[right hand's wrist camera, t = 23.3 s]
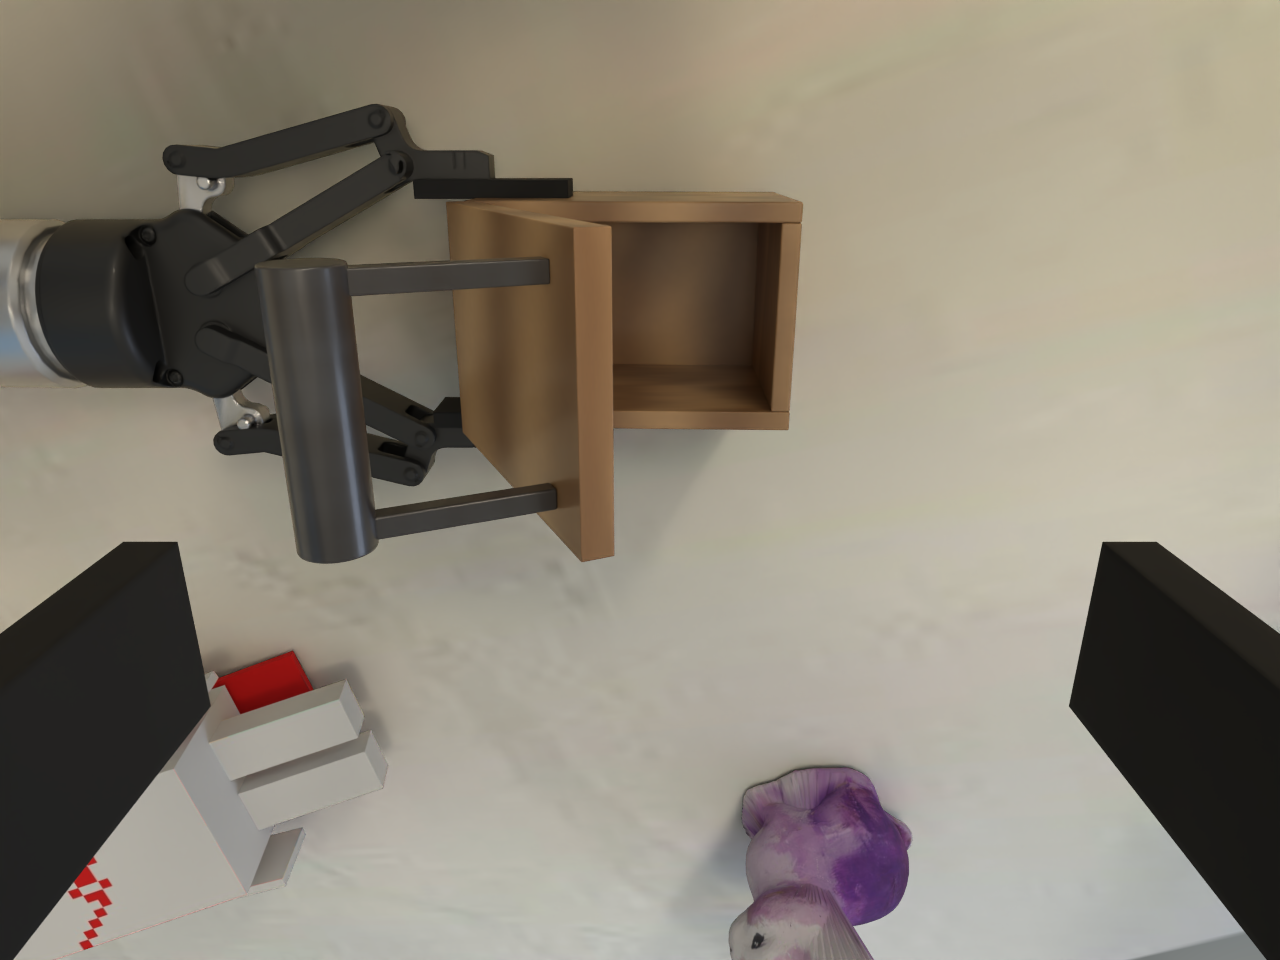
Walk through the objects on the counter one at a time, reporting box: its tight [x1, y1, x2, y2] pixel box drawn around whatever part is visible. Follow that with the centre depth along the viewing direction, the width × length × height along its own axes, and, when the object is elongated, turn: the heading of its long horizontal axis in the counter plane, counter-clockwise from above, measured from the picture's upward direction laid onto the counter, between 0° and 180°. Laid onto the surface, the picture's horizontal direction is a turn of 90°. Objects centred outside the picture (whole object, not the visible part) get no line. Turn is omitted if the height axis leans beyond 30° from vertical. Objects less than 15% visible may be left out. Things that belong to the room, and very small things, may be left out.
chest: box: [466, 191, 803, 430], centre depth 41 cm, size 14×9×10 cm
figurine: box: [729, 767, 912, 960], centre depth 50 cm, size 9×10×15 cm
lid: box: [254, 201, 614, 564], centre depth 28 cm, size 14×9×9 cm
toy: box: [13, 651, 388, 960], centre depth 51 cm, size 12×13×30 cm
